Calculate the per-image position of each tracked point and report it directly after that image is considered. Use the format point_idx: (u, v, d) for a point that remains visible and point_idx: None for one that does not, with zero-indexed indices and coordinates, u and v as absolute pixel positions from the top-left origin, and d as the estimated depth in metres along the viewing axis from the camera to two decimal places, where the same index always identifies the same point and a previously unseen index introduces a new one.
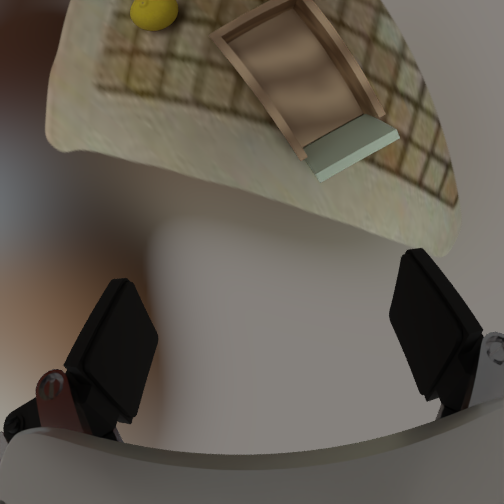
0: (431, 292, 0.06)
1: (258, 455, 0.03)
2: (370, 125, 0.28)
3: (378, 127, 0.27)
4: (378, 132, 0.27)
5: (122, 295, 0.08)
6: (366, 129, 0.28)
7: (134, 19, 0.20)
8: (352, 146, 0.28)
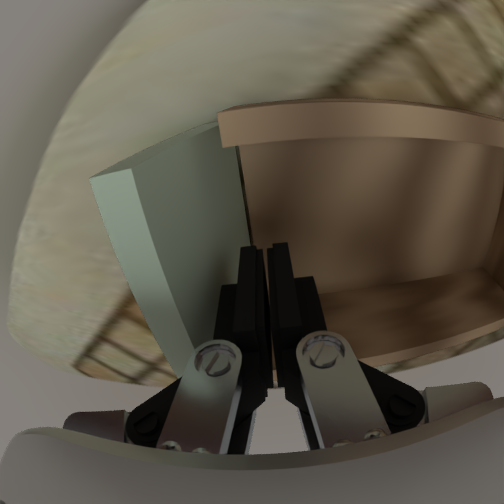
0: (269, 284, 0.08)
1: (258, 455, 0.03)
2: None
3: None
4: None
5: None
6: None
7: None
8: (209, 321, 0.09)
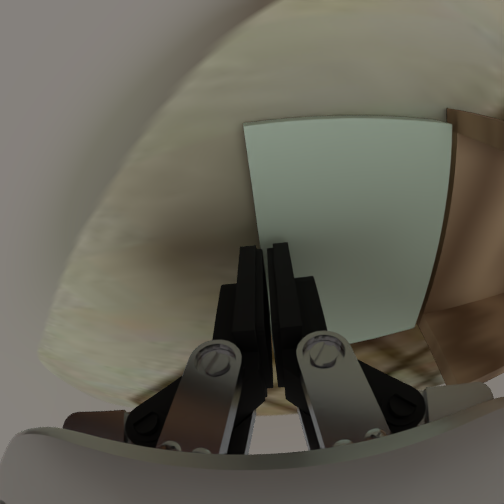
0: (269, 284, 0.08)
1: (258, 455, 0.03)
2: (352, 324, 0.13)
3: None
4: None
5: None
6: (345, 313, 0.12)
7: None
8: (298, 266, 0.11)
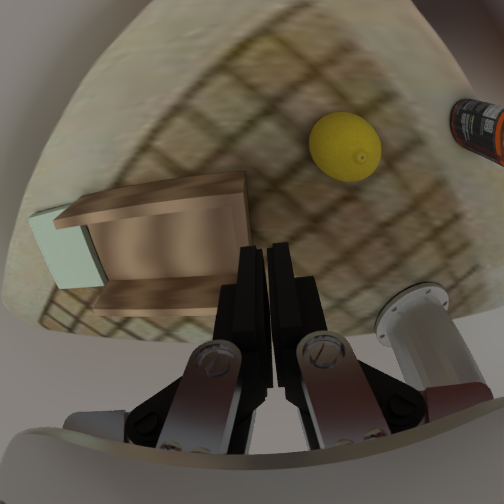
0: (269, 284, 0.08)
1: (258, 455, 0.03)
2: (75, 278, 0.30)
3: (68, 281, 0.30)
4: (60, 277, 0.30)
5: None
6: (70, 273, 0.30)
7: (351, 123, 0.17)
8: (49, 254, 0.28)
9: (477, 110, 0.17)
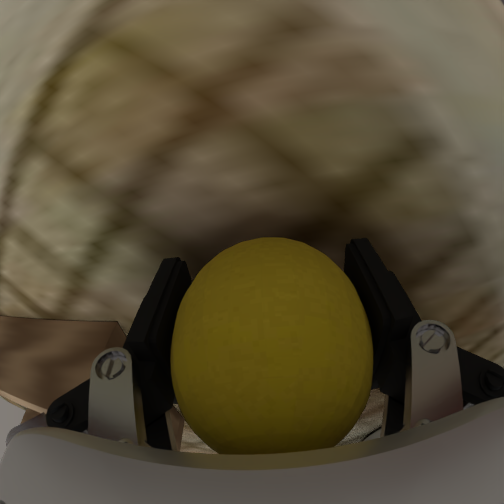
0: (365, 278, 0.07)
1: (258, 455, 0.03)
2: None
3: None
4: None
5: None
6: None
7: (252, 375, 0.04)
8: None
9: None
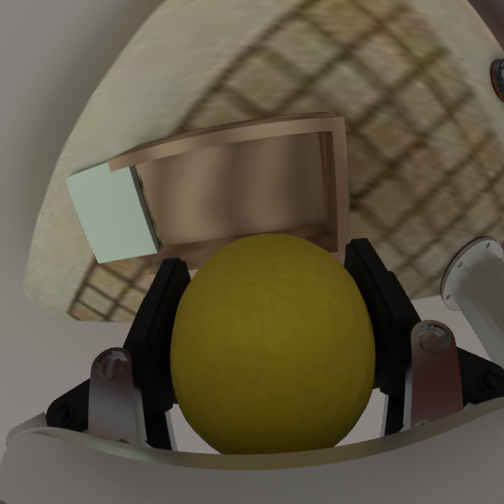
0: (364, 278, 0.07)
1: (258, 455, 0.03)
2: (120, 246, 0.28)
3: (111, 251, 0.28)
4: (101, 248, 0.28)
5: None
6: (114, 240, 0.28)
7: (252, 371, 0.04)
8: (90, 220, 0.26)
9: None
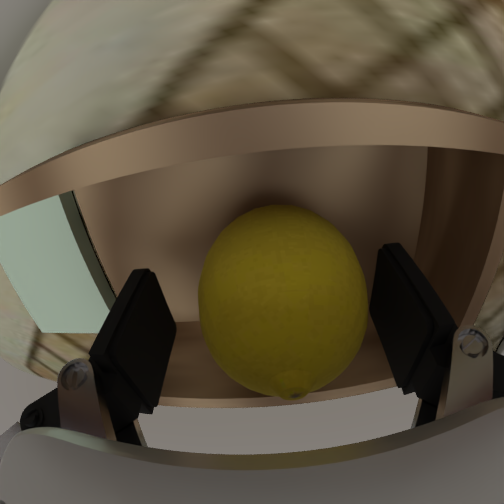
0: (403, 284, 0.07)
1: (258, 455, 0.03)
2: (66, 317, 0.15)
3: (54, 321, 0.16)
4: (40, 314, 0.15)
5: (145, 284, 0.08)
6: (56, 308, 0.15)
7: (273, 289, 0.06)
8: (17, 274, 0.13)
9: None
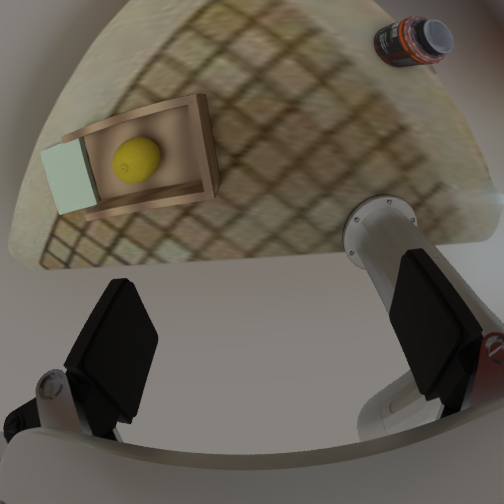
0: (431, 292, 0.06)
1: (258, 454, 0.03)
2: (73, 200, 0.35)
3: (67, 205, 0.36)
4: (61, 202, 0.35)
5: (122, 295, 0.08)
6: (70, 196, 0.35)
7: (122, 147, 0.26)
8: (54, 181, 0.33)
9: (388, 27, 0.21)
